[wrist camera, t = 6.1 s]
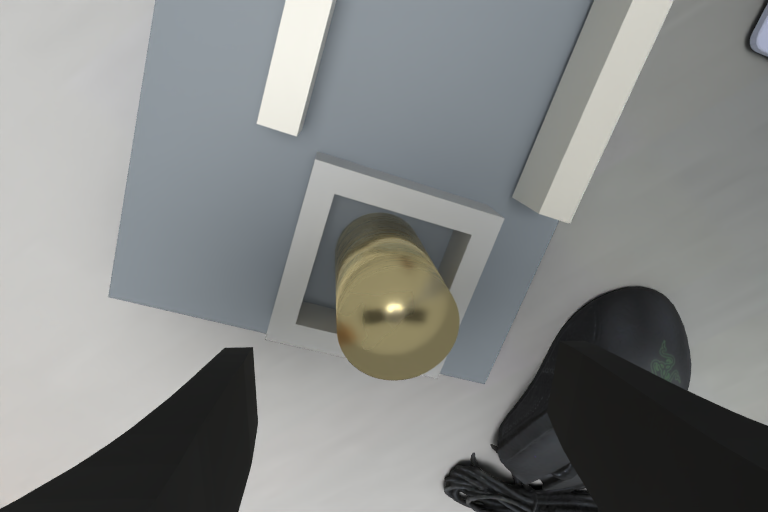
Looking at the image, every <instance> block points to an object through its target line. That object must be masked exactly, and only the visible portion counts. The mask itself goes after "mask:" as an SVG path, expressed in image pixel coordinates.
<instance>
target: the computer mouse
mask: <svg viewBox="0 0 768 512" xmlns="http://www.w3.org/2000/svg"><path fill="white" fill-rule="evenodd" d="M560 341H586V342H589V343H591V344H594V345H596V346H598V347H601V348H603V349H605V350H607V351H609V352H611V353H613V354H615V355H617V356H619V357H621V358H623V359H625V360H627V361H629V362H631V363H633V364H635V365H637V366H639V367H641V368H643V369H645V370H647V371H649V372H651V373H653V374H655V375H657V376H659V377H661V378H663V379H665V380H667V381H669V382H671V383H673V384H675V385H677V386H679V387H681V388H683V389H685V390H688V387H689V382H690V376H691V358H690V350H689V345H688V339H687V335H686V332H685V328H684V325H683V323H682V321H681V318H680V316H679V314H678V312H677V310H676V308H675V306H674V305H673V304H672V303H671V302H670V301H669V299H668V298H667V297H665V296H664V295H663V294H661V293H659V292H657V291H655V290H652V289H648V288H643V287H632V288H624V289H620V290H617V291H614V292H610V293H608V294H605V295H603V296H601V297H599V298H597V299H595V300H594V301H592V302H590V303H589V304H587V305H586V306H585V307H583V308H582V309H581V310H579V311H578V312H577V313H576V314H575V315H574V316H573V317H572V318H571V319H570V320H569V321H568V322H567V323H566V324H565V325H564V326H563V328H562V329H561V330H560V332H559V333H558V335H557V336H556V338H555V340H554V341H553V343H552V345H551V347H550V349H549V351H548V353H547V355H546V357H545V359H544V361H543V363H542V365H541V367H540V369H539V370H538V372H537V374H536V376H535V378H534V380H533V381H532V383H531V384H530V386H529V387H528V389H527V390H526V392H525V393H524V394H523V396H522V397H521V398H520V400H519V401H518V402H517V404H516V405H515V406H514V408H513V409H512V410H511V411H510V413H509V414H508V415H507V417H506V418H505V420H504V421H503V423H502V424H501V426H500V431H499V438H498V447H497V446H495V445H493V444H491V447H492V449H494V450H495V451H496V453H498V456H499V458H500V461H501V462H502V463H503V464H504V466H505V467H506V468H507V469H508V470H510V471H511V473H512V476H513V477H514V480H515V484H514V485H510V484H508V483H506V482H502V481H500V480H498V479H497V478H495V477H492V476H491V475H490V474H488V473H486V472H484V471H482V470H481V469H480V467H479V466H478V465H477V462H476V459H475V453H472V455H471V463H472V465H473V466H474V467H471V466H470V467H469V466H461V465H456V466H455V468H454V470H452V471H450V477H447V478H445V483H446V487H445V489H444V492H445V494H446V495H448V496H449V497H451V498H452V499H453V500H454V501H456V502H458V503H460V504H462V505H464V506H467V507H469V508H472V509H473V510H474V511H476V512H601V511H600V510H599V508H598V507H597V505H596V503H595V502H594V500H593V498H592V497H591V495H590V494H589V493H588V492H584V491H574V490H578V489H580V490H581V489H584V488H586V487H585V485H584V484H583V482H582V481H581V479H580V477H579V476H578V474H577V472H576V471H575V469H574V467H573V466H572V464H571V462H570V461H569V459H568V457H567V456H566V454H565V452H564V450H563V448H562V446H561V444H560V442H559V440H558V437H557V435H556V433H555V431H554V428H553V426H552V424H551V421H550V419H549V416H548V414H547V408H548V403H549V397H550V392H551V387H552V381H553V376H554V370H555V365H556V360H557V354H558V349H559V343H560ZM538 479H540V480H541V481H542V483H543V486H542V490H534V489H533V488H532V487H531V486H528V484H529V483H531V482H534V481H536V480H538ZM522 483H523V485H522ZM459 492H463V493H464V494H466V495H468V496H469V497H467V498H466V500H464V499H462V498H461V496H460V493H459ZM474 500H475V501H474Z"/></svg>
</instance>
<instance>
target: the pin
mask: <svg viewBox="0 0 768 512" xmlns="http://www.w3.org/2000/svg"><path fill="white" fill-rule="evenodd" d="M335 282H336V324H337V338H338V342H339V345H340V348H341V350H342V352H343V354H344V355H345V357H346V358H347V359H348V361H349V362H350V363H351V364H352V365H353V366H354V367H356V368H357V369H358V370H360V371H361V372H363V373H365V374H367V375H369V376H372V377H375V378H379V379H384V380H404V379H410V378H413V377H417V376H419V375H422V374H424V373H426V372H428V371H429V370H431V369H433V368H434V367H435V366H437V365H438V364H439V363H440V362H441V361H442V360H444V358H445V357H446V356H447V355H448V354H449V352H450V351H451V349H452V347H453V345H454V343H455V341H456V338H457V335H458V331H459V322H460V319H459V311H458V307H457V304H456V302H455V300H454V298H453V296H452V294H451V293H450V291H449V289H448V288H447V286H446V284H445V282H444V281H443V279H442V277H441V276H440V274H439V272H438V270H437V269H436V267H435V265H434V264H433V262H432V260H431V258H430V257H429V255H428V253H427V252H426V250H425V248H424V246H423V245H422V243H421V241H420V240H419V238H418V236H417V234H416V233H415V231H414V230H413V228H412V227H411V226H410V225H409V224H408V223H407V222H406V221H404V220H403V219H401V218H399V217H397V216H395V215H392V214H388V213H370V214H366V215H363V216H361V217H359V218H357V219H355V220H353V221H352V222H351V223H350V224H348V225H347V226H346V228H345V229H344V230H343V231H342V233H341V234H340V236H339V238H338V241H337V243H336V248H335Z"/></svg>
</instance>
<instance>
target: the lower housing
mask: <svg viewBox="0 0 768 512" xmlns="http://www.w3.org/2000/svg"><path fill="white" fill-rule="evenodd" d="M673 1H674V0H594V2H593V4H592V7H591V9H590V11H589V14H588V16H587V19H586V21H585V23H584V26H583V28H582V31H581V33H580V35H579V38H578V40H577V43H576V45H575V47H574V50H573V52H572V55H571V57H570V59H569V62H568V64H567V66H566V69H565V71H564V74H563V76H562V78H561V81H560V83H559V86H558V88H557V90H556V93H555V95H554V98H553V100H552V102H551V105H550V107H549V110H548V112H547V114H546V117H545V119H544V122H543V124H542V126H541V129H540V131H539V134H538V136H537V138H536V141H535V143H534V146H533V148H532V150H531V153H530V155H529V157H528V160H527V162H526V165H525V167H524V169H523V172H522V174H521V177H520V179H519V181H518V184H517V186H516V189H515V191H514V193H513V196H512V198H514V199H516V200H517V201H519V202H520V203H522V204H524V205H525V206H527V207H528V208H530V209H532V210H533V211H535V212H537V213H538V214H541V215H544V216H547V217H550V218H553V219H557V220H560V221H563V222H566V223H569V224H570V223H571V221H572V218H573V216H574V214H575V212H576V210H577V208H578V205H579V203H580V201H581V199H582V197H583V195H584V193H585V190H586V188H587V186H588V184H589V182H590V180H591V177H592V175H593V173H594V171H595V169H596V167H597V165H598V162H599V160H600V158H601V156H602V154H603V152H604V149H605V147H606V145H607V143H608V141H609V139H610V137H611V134H612V132H613V130H614V128H615V126H616V124H617V121H618V119H619V117H620V115H621V113H622V111H623V109H624V106H625V104H626V102H627V100H628V98H629V96H630V94H631V91H632V89H633V87H634V85H635V83H636V81H637V78H638V76H639V74H640V72H641V70H642V68H643V66H644V63H645V61H646V59H647V57H648V55H649V53H650V50H651V48H652V46H653V44H654V42H655V40H656V38H657V35H658V33H659V31H660V29H661V27H662V25H663V22H664V20H665V18H666V16H667V14H668V12H669V10H670V7H671V5H672V3H673ZM335 4H336V0H286V1H285V5H284V10H283V14H282V18H281V22H280V27H279V31H278V35H277V39H276V44H275V48H274V52H273V56H272V60H271V65H270V69H269V73H268V77H267V82H266V86H265V90H264V94H263V99H262V103H261V107H260V111H259V116H258V120H257V124H259V125H262V126H265V127H268V128H271V129H275V130H278V131H281V132H284V133H287V134H290V135H293V136H298V134H299V133H300V132H301V130H302V128H303V124H304V121H305V117H306V113H307V109H308V106H309V102H310V98H311V94H312V90H313V87H314V83H315V79H316V75H317V72H318V68H319V64H320V60H321V57H322V53H323V49H324V45H325V42H326V38H327V34H328V30H329V26H330V23H331V19H332V15H333V11H334V8H335Z"/></svg>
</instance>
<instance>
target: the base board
mask: <svg viewBox="0 0 768 512" xmlns="http://www.w3.org/2000/svg"><path fill="white" fill-rule="evenodd" d="M285 1H286V0H155V6H154V13H153V19H152V25H151V32H150V38H149V44H148V50H147V57H146V63H145V69H144V76H143V82H142V88H141V95H140V101H139V107H138V113H137V120H136V126H135V132H134V139H133V145H132V151H131V158H130V164H129V170H128V176H127V183H126V189H125V195H124V202H123V208H122V214H121V221H120V227H119V233H118V239H117V246H116V252H115V258H114V265H113V271H112V277H111V284H110V290H109V296H108V297H110V298H115V299H119V300H123V301H128V302H132V303H136V304H141V305H145V306H149V307H154V308H158V309H162V310H166V311H171V312H175V313H179V314H184V315H188V316H192V317H197V318H201V319H205V320H210V321H214V322H218V323H223V324H227V325H231V326H236V327H240V328H244V329H249V330H253V331H257V332H261V333H266V337H265V340H269V341H273V342H277V343H282V344H286V345H290V346H295V347H299V348H304V349H308V350H312V351H317V352H321V353H325V354H330V355H334V356H338V357H343V358H346V357H345V355H344V354H343V352H342V350H341V348H340V345H339V342H338V338H337V324H336V282H335V248H336V243H337V241H338V238H339V236H340V234H341V233H342V231H343V230H344V229H345V228H346V226H347V225H348V224H350V223H351V222H352V221H353V220H355V219H357V218H359V217H361V216H363V215H366V214H370V213H388V214H392V215H395V216H397V217H399V218H401V219H403V220H404V221H406V222H407V223H408V224H409V225H410V226H411V227H412V228H413V230H414V231H415V233H416V234H417V236H418V238H419V240H420V241H421V243H422V245H423V246H424V248H425V250H426V252H427V253H428V255H429V257H430V258H431V260H432V262H433V264H434V265H435V267H436V269H437V270H438V272H439V274H440V276H441V277H442V279H443V281H444V282H445V284H446V286H447V288H448V289H449V291H450V293H451V294H452V296H453V298H454V300H455V302H456V304H457V307H458V311H459V319H460V322H459V331H458V335H457V338H456V341H455V343H454V345H453V347H452V349H451V351H450V352H449V354H448V355H447V356H446V357H445V358H444V360H442V361H441V362H440V363H439V364H438V365H437V366H435V367H434V368H433V369H431V370H429V371H428V372H426V373H424V374H422V375H421V376H426V377H430V378H435V379H438V376H439V374H443V375H447V376H451V377H456V378H460V379H464V380H469V381H473V382H477V383H482V384H485V382H486V380H487V378H488V376H489V374H490V371H491V369H492V367H493V365H494V363H495V360H496V358H497V356H498V354H499V352H500V349H501V347H502V345H503V343H504V341H505V339H506V336H507V334H508V332H509V330H510V328H511V325H512V323H513V321H514V319H515V317H516V314H517V312H518V310H519V308H520V306H521V303H522V301H523V299H524V297H525V295H526V292H527V290H528V288H529V286H530V284H531V282H532V279H533V277H534V275H535V273H536V271H537V268H538V266H539V264H540V262H541V260H542V257H543V255H544V253H545V251H546V249H547V246H548V244H549V242H550V240H551V238H552V236H553V233H554V231H555V229H556V227H557V225H558V222H559V220H557V219H553V218H550V217H547V216H544V215H541V214H538V213H537V212H535V211H533V210H532V209H530V208H528V207H527V206H525V205H524V204H522V203H520V202H519V201H517V200H516V199H514V198H512V196H513V193H514V191H515V189H516V186H517V184H518V181H519V179H520V177H521V174H522V172H523V169H524V167H525V165H526V162H527V160H528V157H529V155H530V153H531V150H532V148H533V146H534V143H535V141H536V138H537V136H538V134H539V131H540V129H541V126H542V124H543V122H544V119H545V117H546V114H547V112H548V110H549V107H550V105H551V102H552V100H553V98H554V95H555V93H556V90H557V88H558V86H559V83H560V81H561V78H562V76H563V74H564V71H565V69H566V66H567V64H568V62H569V59H570V57H571V55H572V52H573V50H574V47H575V45H576V43H577V40H578V38H579V35H580V33H581V31H582V28H583V26H584V23H585V21H586V19H587V16H588V14H589V11H590V9H591V7H592V4H593V2H594V0H336V4H335V8H334V11H333V15H332V19H331V23H330V26H329V30H328V34H327V38H326V42H325V45H324V49H323V53H322V57H321V60H320V64H319V68H318V72H317V75H316V79H315V83H314V87H313V90H312V94H311V98H310V102H309V106H308V109H307V113H306V117H305V121H304V124H303V128H302V130H301V132H300V133H299V134H298V136H293V135H290V134H287V133H284V132H281V131H278V130H275V129H271V128H268V127H265V126H262V125H259V124H257V120H258V116H259V111H260V107H261V103H262V99H263V94H264V90H265V86H266V82H267V77H268V73H269V69H270V65H271V60H272V56H273V52H274V48H275V44H276V39H277V35H278V31H279V27H280V22H281V18H282V14H283V10H284V5H285Z"/></svg>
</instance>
